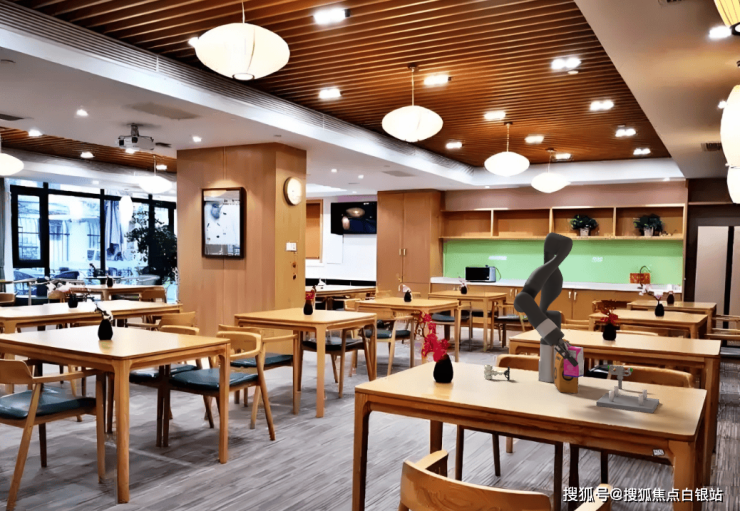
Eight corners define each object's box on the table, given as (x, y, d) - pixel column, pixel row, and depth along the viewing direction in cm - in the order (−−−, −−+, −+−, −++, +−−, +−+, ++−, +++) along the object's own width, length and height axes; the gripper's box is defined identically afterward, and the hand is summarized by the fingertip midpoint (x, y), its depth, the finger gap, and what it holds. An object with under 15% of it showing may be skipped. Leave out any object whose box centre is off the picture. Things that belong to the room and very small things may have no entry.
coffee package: (555, 392, 254) (556, 341, 254) (553, 387, 266) (553, 338, 267) (579, 394, 252) (580, 342, 252) (576, 388, 264) (576, 338, 264)
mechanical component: (631, 391, 260) (631, 368, 260) (607, 387, 266) (607, 365, 266) (633, 389, 262) (633, 367, 262) (608, 386, 268) (609, 364, 269)
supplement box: (569, 373, 243) (570, 345, 243) (583, 376, 238) (584, 347, 238) (563, 375, 239) (563, 347, 239) (576, 377, 234) (577, 348, 234)
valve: (483, 380, 281) (509, 381, 277) (483, 366, 281) (509, 367, 277) (484, 377, 287) (509, 379, 284) (484, 364, 287) (510, 365, 284)
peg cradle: (596, 405, 231) (596, 391, 232) (606, 396, 248) (606, 383, 248) (652, 413, 221) (652, 398, 221) (659, 402, 238) (659, 389, 238)
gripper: (551, 328, 236) (581, 360, 230) (561, 324, 248) (590, 355, 242) (538, 340, 239) (567, 372, 233) (548, 336, 251) (576, 367, 245)
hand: (578, 364), depth 237 cm, fingers closed on supplement box, 6 cm apart
